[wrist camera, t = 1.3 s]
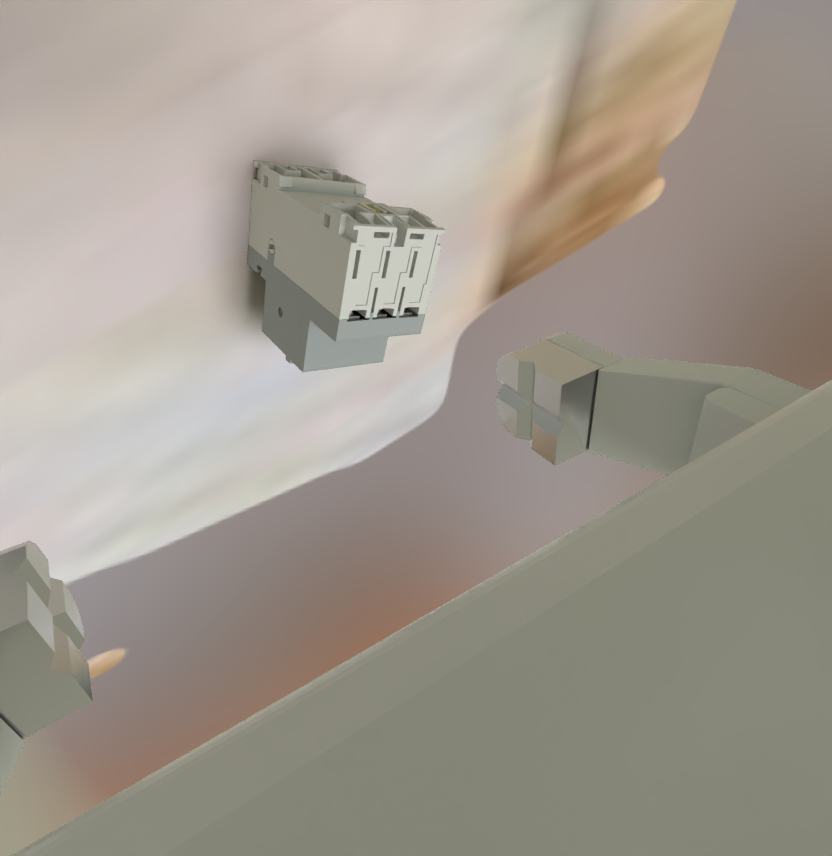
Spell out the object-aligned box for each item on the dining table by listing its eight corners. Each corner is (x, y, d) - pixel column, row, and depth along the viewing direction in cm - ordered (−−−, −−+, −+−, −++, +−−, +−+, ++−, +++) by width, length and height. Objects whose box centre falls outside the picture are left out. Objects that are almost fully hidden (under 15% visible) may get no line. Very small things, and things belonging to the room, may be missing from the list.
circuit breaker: (243, 329, 50) (324, 416, 41) (253, 160, 43) (354, 221, 34) (316, 324, 55) (403, 401, 46) (337, 170, 48) (446, 226, 38)
